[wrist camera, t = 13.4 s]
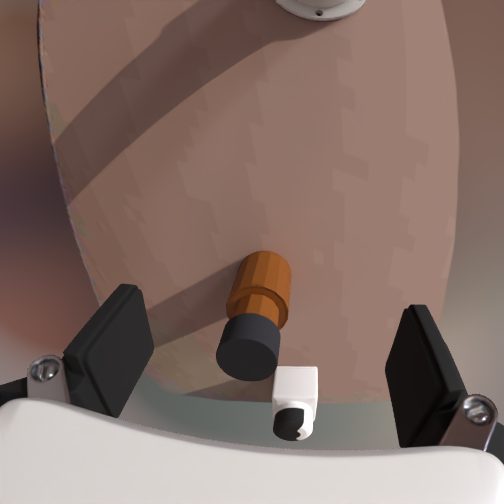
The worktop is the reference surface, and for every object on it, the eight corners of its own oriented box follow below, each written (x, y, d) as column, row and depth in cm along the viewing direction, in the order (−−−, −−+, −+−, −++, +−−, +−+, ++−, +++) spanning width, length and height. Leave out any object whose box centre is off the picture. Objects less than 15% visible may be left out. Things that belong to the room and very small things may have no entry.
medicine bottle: (276, 391, 55) (269, 444, 44) (275, 365, 52) (268, 421, 41) (314, 391, 54) (314, 445, 43) (317, 365, 51) (317, 422, 40)
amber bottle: (239, 249, 44) (216, 303, 32) (292, 252, 43) (288, 309, 31) (240, 294, 47) (220, 354, 35) (289, 297, 46) (284, 361, 34)
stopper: (229, 291, 35) (213, 335, 29) (283, 295, 35) (279, 341, 28) (231, 333, 38) (217, 378, 31) (281, 337, 37) (275, 384, 30)
